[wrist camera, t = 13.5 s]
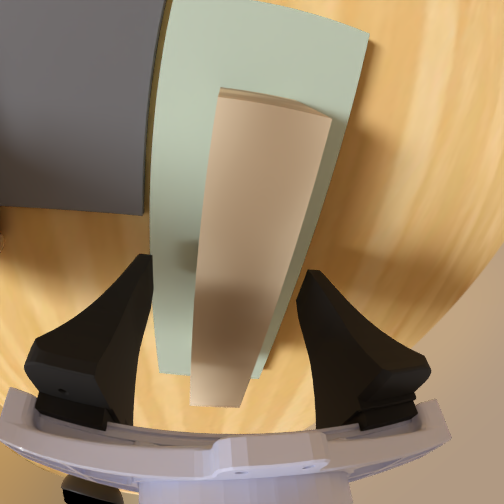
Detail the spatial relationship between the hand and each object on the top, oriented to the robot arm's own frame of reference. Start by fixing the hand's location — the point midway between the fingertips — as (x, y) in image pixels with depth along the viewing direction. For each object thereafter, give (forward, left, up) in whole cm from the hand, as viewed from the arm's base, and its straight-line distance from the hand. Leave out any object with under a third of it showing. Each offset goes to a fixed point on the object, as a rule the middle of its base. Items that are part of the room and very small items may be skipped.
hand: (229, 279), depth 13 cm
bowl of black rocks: (-32, -88, -3) cm, 94 cm away
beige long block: (0, 0, -2) cm, 2 cm away
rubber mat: (-12, +8, -3) cm, 15 cm away
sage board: (0, 0, -3) cm, 3 cm away
